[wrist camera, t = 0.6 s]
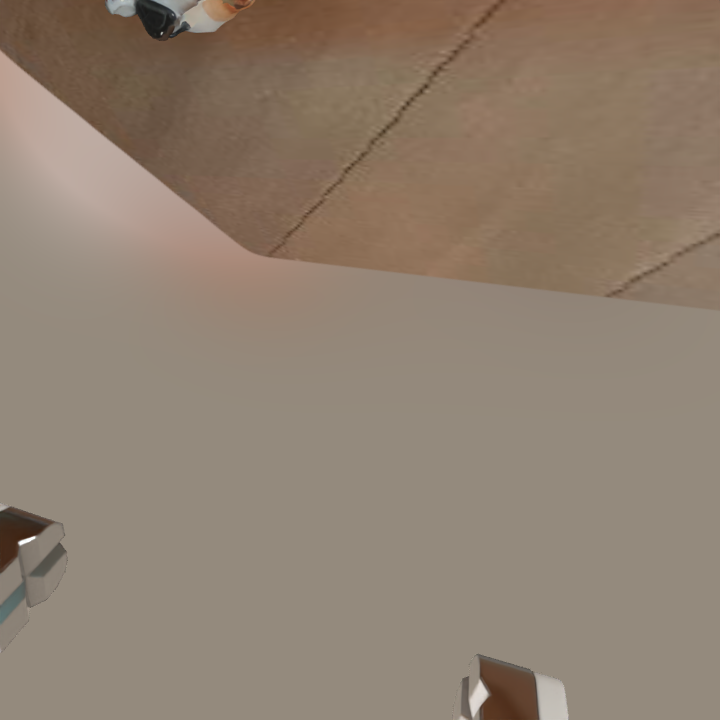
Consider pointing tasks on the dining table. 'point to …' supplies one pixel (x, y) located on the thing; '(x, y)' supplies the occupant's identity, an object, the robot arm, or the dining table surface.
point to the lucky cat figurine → (178, 14)
